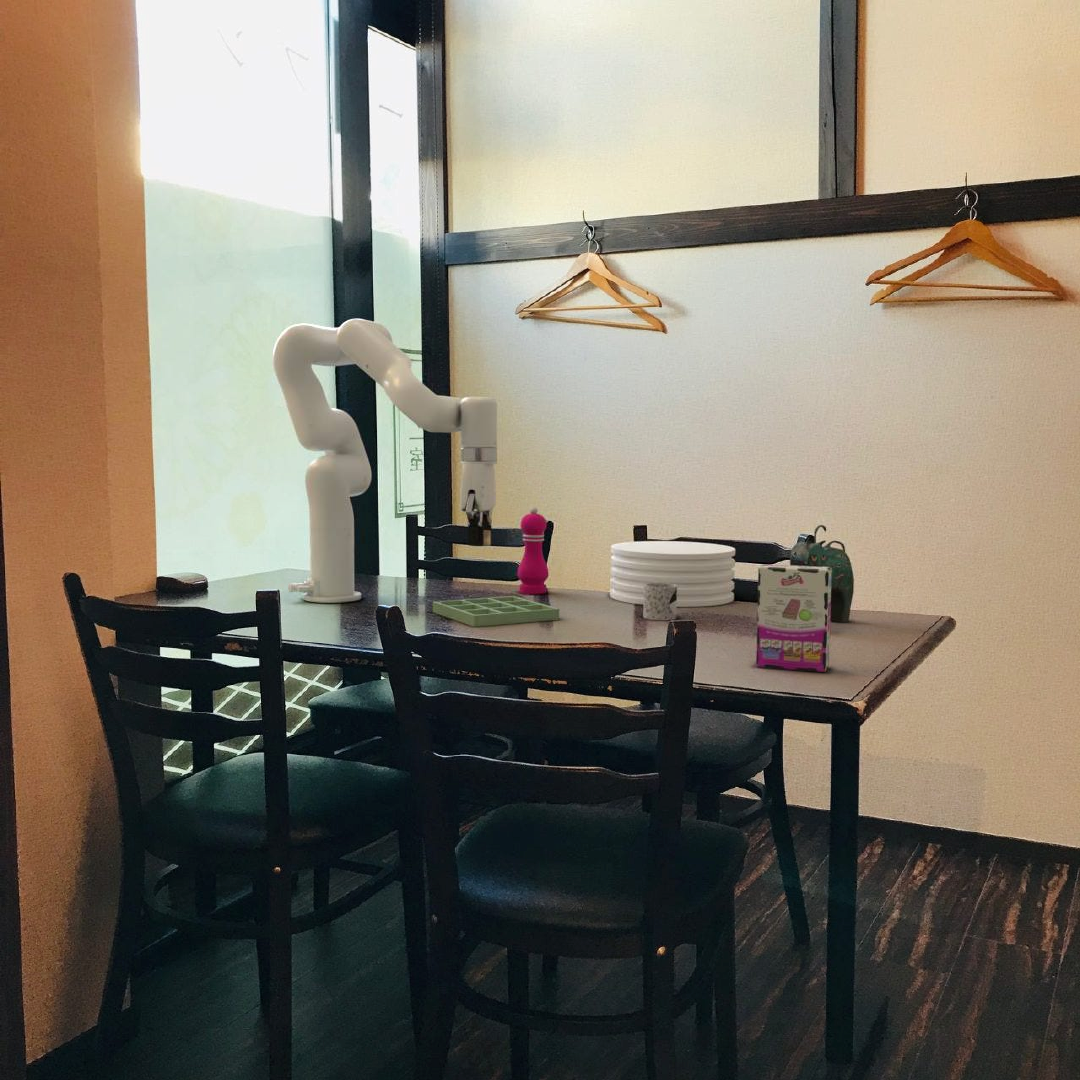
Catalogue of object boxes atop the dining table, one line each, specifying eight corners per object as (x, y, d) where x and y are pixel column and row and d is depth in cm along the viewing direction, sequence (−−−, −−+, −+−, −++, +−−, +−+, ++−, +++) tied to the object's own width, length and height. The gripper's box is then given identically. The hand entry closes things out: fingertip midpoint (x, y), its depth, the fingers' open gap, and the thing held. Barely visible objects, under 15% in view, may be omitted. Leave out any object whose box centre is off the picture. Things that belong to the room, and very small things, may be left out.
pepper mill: (549, 590, 262) (550, 505, 260) (546, 595, 255) (547, 507, 253) (519, 589, 263) (520, 505, 261) (515, 594, 256) (516, 507, 254)
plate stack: (590, 591, 262) (590, 542, 261) (694, 586, 272) (695, 539, 271) (644, 609, 236) (646, 555, 235) (758, 603, 246) (759, 551, 245)
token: (475, 546, 229) (475, 532, 229) (465, 544, 233) (465, 530, 233) (494, 545, 232) (494, 531, 231) (484, 543, 235) (484, 529, 235)
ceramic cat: (808, 634, 210) (812, 528, 208) (778, 629, 214) (782, 525, 212) (858, 621, 224) (862, 522, 222) (829, 617, 228) (833, 520, 226)
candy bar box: (829, 667, 180) (833, 566, 178) (825, 673, 175) (829, 569, 174) (760, 661, 184) (763, 562, 182) (754, 667, 179) (757, 566, 178)
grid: (474, 626, 213) (474, 615, 213) (432, 612, 229) (432, 601, 229) (559, 619, 222) (559, 608, 222) (513, 606, 239) (513, 595, 238)
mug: (677, 620, 223) (678, 587, 222) (643, 619, 223) (644, 586, 222) (673, 612, 233) (674, 581, 232) (641, 611, 233) (642, 580, 232)
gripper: (475, 456, 240) (476, 540, 242) (448, 457, 224) (449, 548, 225) (508, 456, 238) (509, 541, 240) (483, 457, 222) (484, 548, 223)
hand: (480, 543), depth 232 cm, fingers closed on token, 4 cm apart
